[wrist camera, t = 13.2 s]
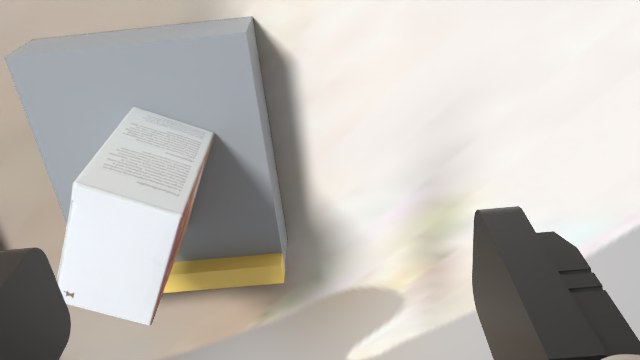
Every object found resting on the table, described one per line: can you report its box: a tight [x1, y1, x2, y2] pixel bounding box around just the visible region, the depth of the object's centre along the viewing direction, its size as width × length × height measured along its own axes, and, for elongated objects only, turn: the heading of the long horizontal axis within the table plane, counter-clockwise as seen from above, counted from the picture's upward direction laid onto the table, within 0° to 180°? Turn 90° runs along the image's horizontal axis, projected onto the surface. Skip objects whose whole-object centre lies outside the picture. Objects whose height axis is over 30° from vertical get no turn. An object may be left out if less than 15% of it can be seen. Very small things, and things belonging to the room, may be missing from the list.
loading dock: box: [4, 17, 288, 293], centre depth 41 cm, size 18×15×6 cm
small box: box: [56, 107, 214, 325], centre depth 35 cm, size 8×6×10 cm
